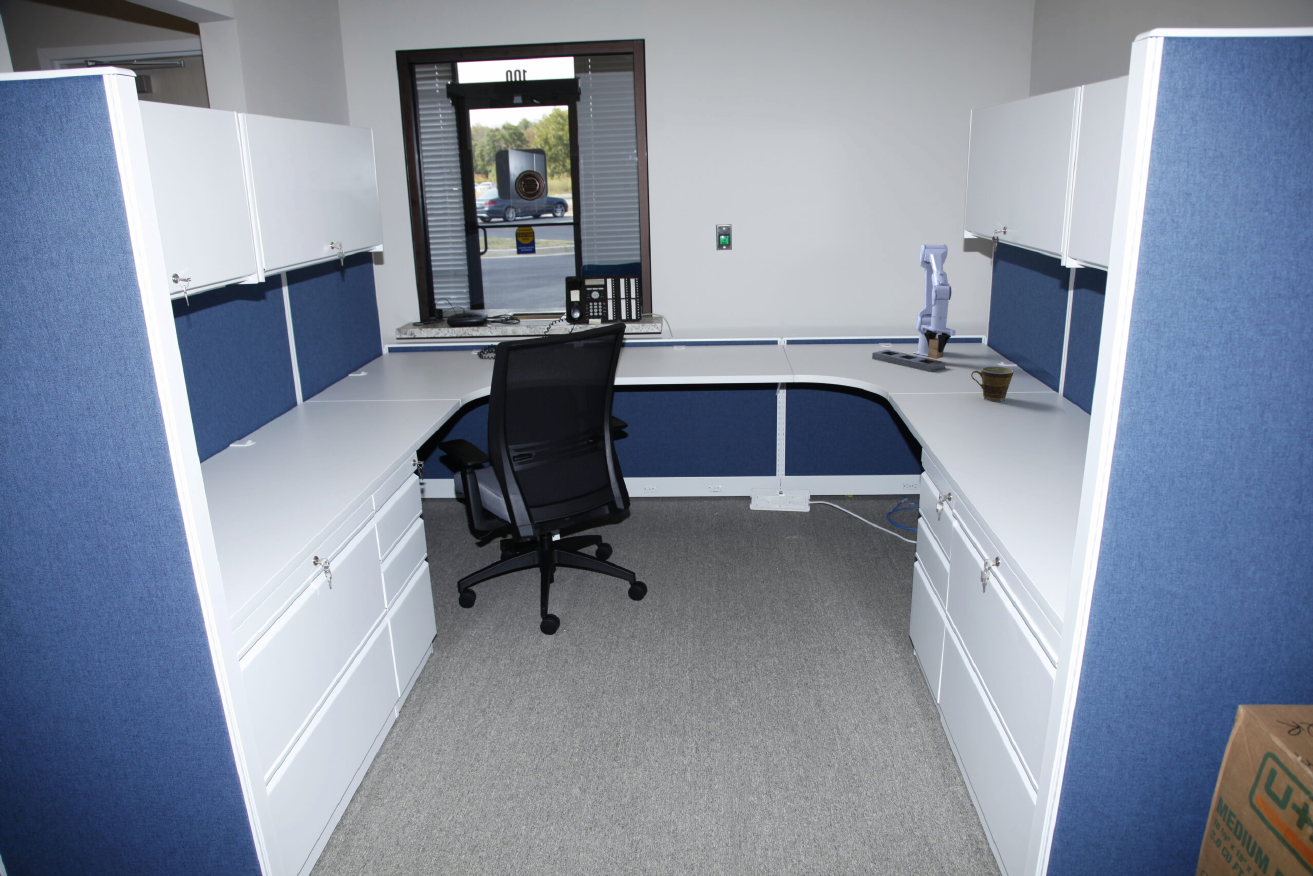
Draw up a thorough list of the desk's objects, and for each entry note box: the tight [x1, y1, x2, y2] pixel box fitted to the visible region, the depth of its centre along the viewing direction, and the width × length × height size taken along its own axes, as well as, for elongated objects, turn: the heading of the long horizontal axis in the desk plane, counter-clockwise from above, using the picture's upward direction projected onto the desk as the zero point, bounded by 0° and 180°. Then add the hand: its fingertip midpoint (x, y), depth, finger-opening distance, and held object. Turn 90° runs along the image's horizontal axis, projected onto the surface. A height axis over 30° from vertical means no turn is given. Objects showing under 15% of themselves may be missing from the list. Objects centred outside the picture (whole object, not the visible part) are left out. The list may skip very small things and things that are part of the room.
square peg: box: [927, 338, 944, 360], centre depth 331 cm, size 4×4×7 cm
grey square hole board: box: [871, 349, 947, 373], centre depth 332 cm, size 9×28×2 cm, turn 36°
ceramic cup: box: [971, 366, 1014, 402], centre depth 282 cm, size 13×10×10 cm
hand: (935, 350), depth 331 cm, fingers closed on square peg, 4 cm apart
